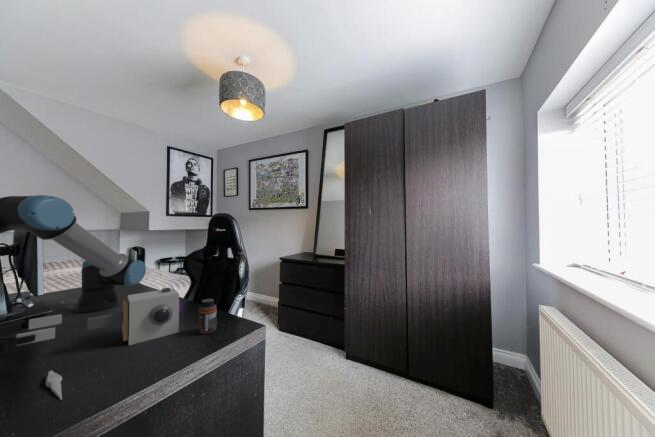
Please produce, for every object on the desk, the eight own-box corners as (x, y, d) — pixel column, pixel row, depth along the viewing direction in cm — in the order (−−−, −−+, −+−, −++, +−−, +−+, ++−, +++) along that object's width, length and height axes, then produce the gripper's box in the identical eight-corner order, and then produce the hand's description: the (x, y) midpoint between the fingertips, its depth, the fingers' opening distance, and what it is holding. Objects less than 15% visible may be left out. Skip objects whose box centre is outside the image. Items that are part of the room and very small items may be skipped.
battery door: (87, 340, 78) (88, 306, 79) (125, 331, 85) (126, 300, 85) (86, 350, 72) (87, 313, 72) (127, 340, 79) (128, 306, 79)
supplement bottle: (195, 331, 88) (196, 300, 89) (212, 326, 93) (212, 296, 93) (201, 336, 84) (202, 303, 85) (219, 330, 89) (219, 299, 89)
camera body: (126, 335, 85) (126, 292, 86) (173, 324, 95) (173, 285, 95) (128, 348, 76) (129, 300, 77) (180, 334, 86) (180, 291, 86)
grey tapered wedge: (42, 379, 61) (42, 371, 61) (57, 373, 63) (58, 366, 63) (52, 407, 53) (52, 398, 53) (70, 400, 55) (70, 392, 55)
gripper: (-52, 347, 66) (63, 325, 80) (-113, 393, 48) (50, 354, 62) (-51, 319, 66) (64, 302, 81) (-110, 354, 48) (52, 324, 62)
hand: (58, 325), depth 71 cm, fingers open, 13 cm apart
